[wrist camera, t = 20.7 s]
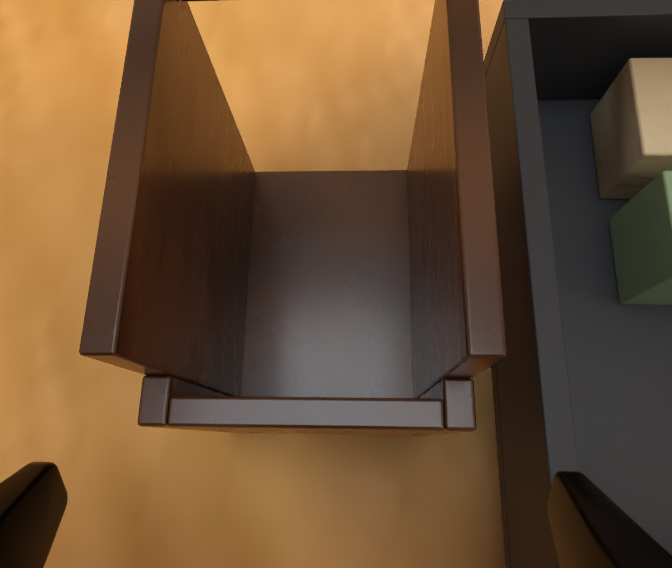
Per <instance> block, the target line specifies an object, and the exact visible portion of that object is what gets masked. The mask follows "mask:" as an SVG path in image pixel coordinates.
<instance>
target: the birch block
mask: <svg viewBox="0 0 672 568" xmlns="http://www.w3.org/2000/svg"><path fill="white" fill-rule="evenodd" d="M590 119H591V127H592V136H593V144H594V153H595V161H596V169H597V178H598V186H599V194H600V198H601V199H632V198H633V197H634V196H636V195H637V194H638V193H639V192H640V191H641V190H642V189H643V188H644V187H646V186H647V185H648V184H649V183H650V182H651V181H652V180H653V179H654V178H656V177H657V176H658V175H659V174H660V173H661V172H663V171H672V58H630V59H629V60H628V61H627V63H626V64H625V65H624V67H623V68H622V70H621V71H620V73H619V74H618V76H617V77H616V78H615V80H614V81H613V83H612V84H611V86H610V87H609V88H608V90H607V91H606V93H605V94H604V96H603V97H602V98H601V100H600V101H599V103H598V104H597V106H596V107H595V109H594V110H593V111H592V113H591V115H590Z"/></svg>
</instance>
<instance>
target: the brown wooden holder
mask: <svg viewBox="0 0 672 568" xmlns="http://www.w3.org/2000/svg"><path fill="white" fill-rule="evenodd" d="M187 1H217V0H134V6H133V12H132V19H131V25H130V31H129V38H128V44H127V51H126V57H125V63H124V70H123V76H122V82H121V89H120V95H119V102H118V108H117V114H116V121H115V127H114V133H113V140H112V146H111V153H110V159H109V165H108V172H107V178H106V184H105V191H104V197H103V204H102V210H101V216H100V223H99V229H98V235H97V242H96V248H95V254H94V261H93V267H92V274H91V280H90V286H89V293H88V299H87V305H86V312H85V318H84V325H83V331H82V337H81V344H80V350H79V352H80V355H83V356H86V357H89V358H92V359H96V360H99V361H102V362H105V363H109V364H112V365H115V366H118V367H122V368H125V369H128V370H131V371H135V372H138V373H141V374H144V375H146V376H144V377H143V382H142V390H141V399H140V407H139V416H138V425H139V426H143V427H158V428H173V429H188V430H202V431H217V432H249V433H318V434H387V435H435V434H446V433H457V432H467V431H474V430H475V429H476V415H475V398H474V382H473V380H472V379H470V378H471V377H473V376H475V375H476V374H478V373H480V372H481V371H483V370H485V369H487V368H488V367H490V366H492V365H493V364H495V363H497V362H498V361H500V360H502V359H504V358H505V357H506V354H507V351H506V339H505V326H504V314H503V301H502V289H501V276H500V264H499V251H498V239H497V226H496V214H495V201H494V189H493V176H492V163H491V151H490V138H489V126H488V113H487V101H486V88H485V76H484V63H483V51H482V38H481V26H480V13H479V1H478V0H435V5H434V11H433V17H432V23H431V29H430V35H429V41H428V47H427V53H426V59H425V65H424V72H423V78H422V84H421V90H420V96H419V102H418V108H417V114H416V120H415V126H414V132H413V138H412V144H411V150H410V156H409V162H408V168H407V170H389V171H296V172H255V171H254V168H253V166H252V163H251V161H250V158H249V156H248V153H247V151H246V148H245V146H244V143H243V141H242V138H241V135H240V133H239V130H238V128H237V125H236V123H235V120H234V118H233V115H232V113H231V110H230V108H229V105H228V103H227V100H226V98H225V95H224V93H223V90H222V88H221V85H220V83H219V80H218V78H217V75H216V73H215V70H214V68H213V65H212V63H211V60H210V58H209V55H208V53H207V50H206V48H205V45H204V43H203V40H202V38H201V35H200V33H199V30H198V28H197V25H196V23H195V20H194V17H193V15H192V12H191V10H190V7H189V5H188V2H187Z"/></svg>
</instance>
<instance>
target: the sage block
mask: <svg viewBox="0 0 672 568" xmlns="http://www.w3.org/2000/svg"><path fill="white" fill-rule="evenodd" d="M609 225H610V233H611V240H612V248H613V255H614V263H615V270H616V278H617V285H618V293H619V301H620V303H621V304H646V305H672V171H663V172H661V173H660V174H659V175H658V176H657V177H656V178H654V179H653V180H652V181H651V182H650V183H649V184H648V185H647V186H646V187H644V188H643V189H642V190H641V191H640V192H639V193H638V194H637V195H636V196H634V197H633V198H632V199H631V200H630V201H629V202H628V203H627V204H626V205H624V206H623V207H622V208H621V209H620V210H619V211H618V212H617V213H616V214H615V215H613V216H612V217H611V218H610V219H609Z"/></svg>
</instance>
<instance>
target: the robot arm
mask: <svg viewBox="0 0 672 568" xmlns="http://www.w3.org/2000/svg"><path fill="white" fill-rule="evenodd" d="M67 498H68V497H67V491H66V488H65V485H64V483H63V480H62V477H61V475H60V472H59V470H58V467H57V466H56V465H55V464H54V463H52V462H32V463H29V464H28V465H26V466H24V467H23V468H21V469H20V470H19V471H17V472H16V473H14V474H13V475H11V476H10V477H9V478H7V479H6V480H4V481H3V482H1V483H0V568H44V565H45V562H46V560H47V557H48V554H49V551H50V549H51V546H52V543H53V541H54V538H55V535H56V533H57V530H58V527H59V524H60V522H61V519H62V516H63V514H64V511H65V508H66V505H67ZM547 510H548V518H549V522H550V526H551V531H552V535H553V539H554V544H555V548H556V552H557V557H558V561H559V565H560V568H672V555H671V554H670V553H669V552H667V551H666V550H665V549H664V548H663V547H662V546H661V545H660V544H659V543H658V542H657V541H656V540H654V539H653V538H652V537H651V536H650V535H649V534H648V533H647V532H646V531H645V530H644V529H643V528H642V527H640V526H639V525H638V524H637V523H636V522H635V521H634V520H633V519H632V518H631V517H630V516H629V515H627V514H626V513H625V512H624V511H623V510H622V509H621V508H620V507H619V506H618V505H617V504H616V503H614V502H613V501H612V500H611V499H610V498H609V497H608V496H607V495H606V494H605V493H604V492H603V491H602V490H600V489H599V488H598V487H597V486H596V485H595V484H594V483H593V482H592V481H591V480H590V479H589V478H587V477H586V476H585V475H584V474H583V473H581V472H578V471H558V472H556V474H555V475H554V478H553V482H552V487H551V491H550V495H549V499H548V505H547Z"/></svg>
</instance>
